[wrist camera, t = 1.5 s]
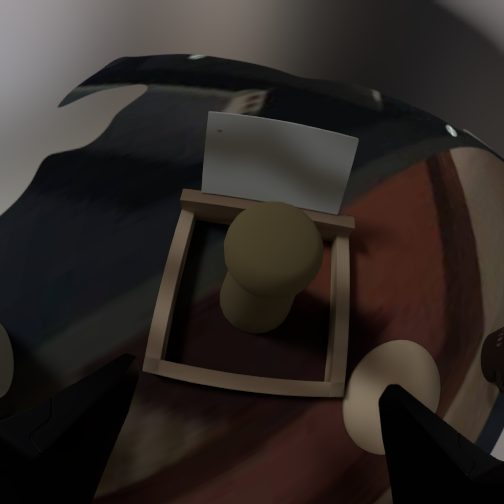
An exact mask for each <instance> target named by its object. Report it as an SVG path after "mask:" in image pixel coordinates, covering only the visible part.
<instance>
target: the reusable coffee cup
mask: <svg viewBox="0 0 504 504" xmlns="http://www.w3.org/2000/svg"><path fill="white" fill-rule="evenodd" d="M13 369H14V361H13V352H12V346H11V343H10V339H9V337H8V334H7V332H6V330H5V329H4V327H3V326H2V325H1V324H0V397H2V396H4V395H5V394H6V393H7V391H8V390H9V388H10V385H11V382H12V378H13Z"/></svg>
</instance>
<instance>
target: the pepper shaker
mask: <svg viewBox="0 0 504 504" xmlns="http://www.w3.org/2000/svg"><path fill="white" fill-rule="evenodd" d="M323 250H324V247H323V242H322V238H321V234H320V232H319V231H318V229H317V227H316V225H315V224H314V222H313V220H312V219H311V218H310V217H309V216H308V215H307V214H306V213H305V212H304V211H302V210H300V209H298V208H297V207H295V206H293V205H291V204H287V203H283V202H263V203H260V204H256V205H253V206H250V207H249V208H247V209H246V210H244V211H243V212H241V213H240V214H239V215H238V216H237V217H236V218H235V220H234V221H233V222H232V224H231V225H230V227H229V229H228V232H227V235H226V238H225V241H224V252H225V263H226V265H227V268H228V272H227V275H226V277H225V280H224V282H223V285H222V289H221V292H220V305H221V308H222V311H223V313H224V316H225V317H226V318H227V319H228V320H229V322H230V323H231V324H232V325H234V326H235V327H237V328H238V329H240V330H242V331H245V332H249V333H253V334H254V333H265V332H268V331H270V330H273V329H275V328H277V327H278V326H279V325H280V324H281V323H282V322H283V321H284V320H285V319H286V317H287V315H288V313H289V312H290V309H291V306H292V303H293V300H294V297H295V295H296V294H298V293H300V292H301V291H303V290H304V289H305V288H306V287H307V286H308V285H309V284H310V283H311V282H312V281H313V280H314V279H315V277H316V275H317V273H318V271H319V270H320V268H321V264H322V258H323Z"/></svg>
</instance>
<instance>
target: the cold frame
mask: <svg viewBox="0 0 504 504" xmlns="http://www.w3.org/2000/svg"><path fill="white" fill-rule="evenodd" d="M358 141H359V139H357V138H354V137H351V136H347V135H343V134H339V133H335V132H331V131H327V130H323V129H319V128H314V127H310V126H305V125H300V124H295V123H290V122H285V121H279V120H273V119H267V118H261V117H254V116H247V115H239V114H230V113H221V112H209V114H208V123H207V133H206V143H205V154H204V166H203V178H202V191H197V190H189V189H183V192H182V195H181V198H180V202H181V207H182V211H181V215H180V218H179V221H178V224H177V228H176V231H175V234H174V238H173V241H172V245H171V248H170V252H169V256H168V259H167V263H166V267H165V270H164V274H163V278H162V282H161V286H160V290H159V294H158V298H157V303H156V307H155V311H154V316H153V320H152V325H151V330H150V334H149V339H148V344H147V350H146V355H145V360H144V366H143V371H146V372H150V373H153V374H157V375H161V376H166V377H170V378H174V379H179V380H183V381H188V382H193V383H198V384H204V385H209V386H215V387H221V388H227V389H234V390H241V391H249V392H258V393H267V394H278V395H292V396H310V397H343V395H344V386H345V375H346V364H347V350H348V331H349V298H350V268H349V235H350V234H351V233H352V232H353V230H354V229H355V223H354V217H351V216H346V215H341V214H338V212H339V208H340V205H341V202H342V199H343V195H344V192H345V188H346V185H347V181H348V178H349V174H350V171H351V167H352V164H353V160H354V156H355V152H356V148H357V145H358ZM263 202H283V203H287V204H291V205H293V206H295V207H297V208H298V209H300V210H302V211H304V212H305V213H306V214H307V215H308V216H309V217H310V218H311V219H312V220H313V222H314V224H315V225H316V227H317V229H318V231H319V232H320V234H321V238H322V240H324V241H330V242H331V297H330V319H329V335H328V349H327V361H326V371H325V381H324V382H312V381H296V380H284V379H273V378H264V377H255V376H247V375H240V374H233V373H226V372H220V371H214V370H209V369H203V368H198V367H193V366H188V365H183V364H178V363H174V362H169V361H165V355H166V349H167V344H168V339H169V334H170V329H171V324H172V319H173V314H174V309H175V305H176V300H177V296H178V291H179V287H180V282H181V278H182V274H183V270H184V266H185V262H186V257H187V253H188V249H189V246H190V242H191V238H192V234H193V230H194V227H195V223H196V220H200V221H207V222H213V223H220V224H227V225H231V224H232V222H233V221H234V220H235V218H236V217H237V216H238V215H239V214H240V213H241V212H243V211H244V210H246V209H247V208H249V207H250V206H253V205H256V204H260V203H263Z"/></svg>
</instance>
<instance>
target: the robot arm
mask: <svg viewBox="0 0 504 504" xmlns="http://www.w3.org/2000/svg"><path fill="white" fill-rule="evenodd" d="M138 378H139V368H138V361H137V357H136V356H134V355H130V354H127V353H126V354H123V355H121V356H120V357H118V358H116V359H115V360H113V361H111V362H110V363H108V364H106V365H105V366H103V367H101V368H100V369H98V370H96V371H95V372H93V373H91V374H90V375H88V376H86V377H85V378H83V379H81V380H80V381H78V382H76V383H75V384H73V385H71V386H70V387H68V388H66V389H64V390H63V391H61V392H59V393H58V394H56V395H54V396H52V398H49V399H47V400H45V401H44V402H42V403H40V404H38V405H36V406H34V407H32V408H30V409H28V410H26V411H24V412H21V413H19V414H17V415H14V416H12V417H9V418H7V419H4V420H2V421H0V504H91V502H92V500H93V498H94V495H95V492H96V490H97V487H98V484H99V482H100V479H101V477H102V474H103V472H104V469H105V467H106V464H107V462H108V459H109V457H110V454H111V452H112V449H113V447H114V445H115V442H116V440H117V437H118V435H119V433H120V430H121V428H122V426H123V424H124V421H125V419H126V416H127V414H128V411H129V408H130V405H131V401H132V398H133V395H134V391H135V388H136V385H137V382H138ZM378 407H379V415H380V424H381V434H382V440H383V445H384V450H385V455H386V461H387V466H388V472H389V478H390V484H391V491H392V498H393V504H504V461H501V460H498V459H496V458H495V457H493V456H492V455H490V454H488V453H487V452H485V451H484V450H482V449H481V448H479V447H478V446H476V445H475V444H473V443H472V442H470V441H469V440H468V439H466V438H465V437H464V436H462V435H461V434H460V433H459V432H457V431H456V430H455V429H454V428H452V427H451V426H450V425H449V424H447V423H446V422H445V421H444V420H442V419H441V418H440V417H439V416H437V415H436V414H435V413H434V412H433V411H431V410H430V409H429V408H428V407H426V406H425V405H424V404H423V403H421V402H420V401H419V400H418V399H416V398H415V397H414V396H413V395H411V394H410V393H409V392H408V391H407V390H405V389H404V388H403V387H402V386H400V385H399V384H389V385H388V386H387V387H386V388H385V390H384V392H383V393H382V395H381V396H380V398H379V401H378Z"/></svg>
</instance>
